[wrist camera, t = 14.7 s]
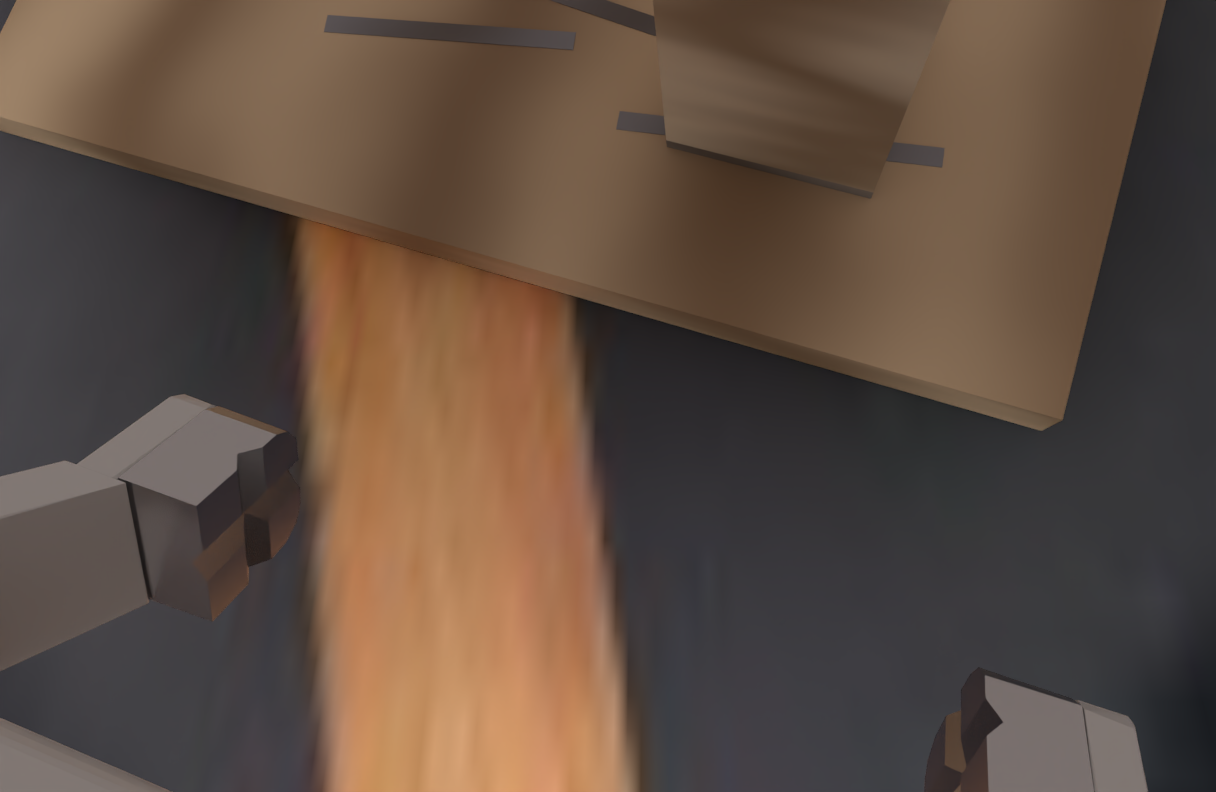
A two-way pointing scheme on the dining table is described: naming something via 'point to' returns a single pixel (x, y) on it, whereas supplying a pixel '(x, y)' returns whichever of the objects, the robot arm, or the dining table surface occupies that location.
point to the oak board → (637, 166)
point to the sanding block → (793, 82)
